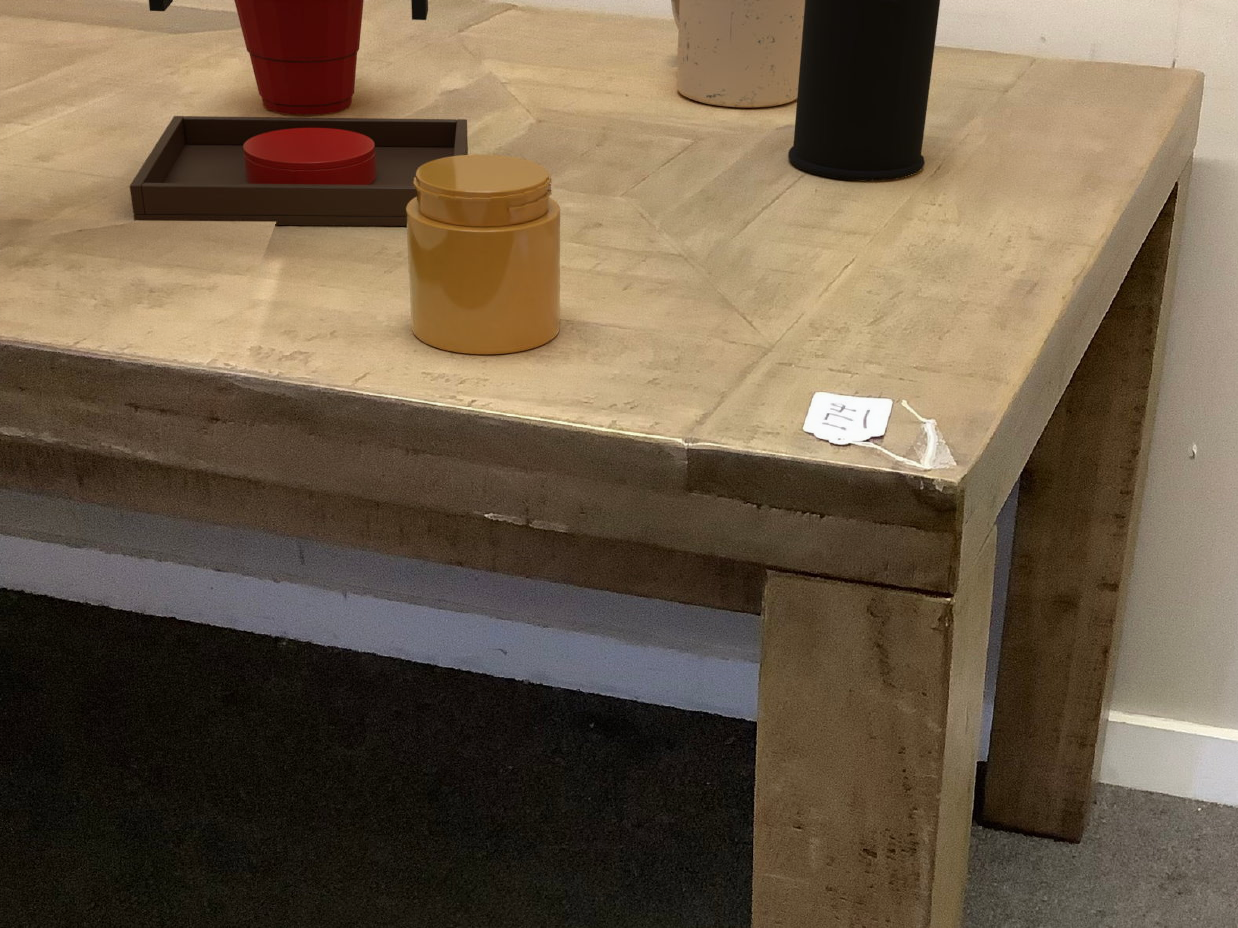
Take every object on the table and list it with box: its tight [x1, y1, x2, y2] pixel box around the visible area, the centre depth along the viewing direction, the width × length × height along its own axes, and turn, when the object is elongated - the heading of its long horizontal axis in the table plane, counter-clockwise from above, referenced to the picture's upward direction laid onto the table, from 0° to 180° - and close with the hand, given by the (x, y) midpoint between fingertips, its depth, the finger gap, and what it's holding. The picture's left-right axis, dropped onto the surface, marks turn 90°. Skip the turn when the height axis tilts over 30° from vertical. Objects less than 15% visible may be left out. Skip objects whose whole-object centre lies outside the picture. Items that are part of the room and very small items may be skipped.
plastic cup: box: [233, 0, 364, 116], centre depth 106 cm, size 11×11×12 cm
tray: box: [129, 115, 469, 227], centre depth 94 cm, size 17×14×2 cm
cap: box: [243, 128, 376, 185], centre depth 94 cm, size 7×7×2 cm
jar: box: [406, 153, 561, 355], centre depth 75 cm, size 7×7×7 cm
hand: (291, 11), depth 89 cm, fingers open, 13 cm apart
